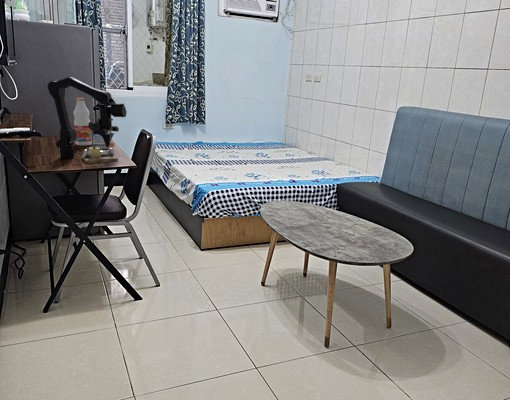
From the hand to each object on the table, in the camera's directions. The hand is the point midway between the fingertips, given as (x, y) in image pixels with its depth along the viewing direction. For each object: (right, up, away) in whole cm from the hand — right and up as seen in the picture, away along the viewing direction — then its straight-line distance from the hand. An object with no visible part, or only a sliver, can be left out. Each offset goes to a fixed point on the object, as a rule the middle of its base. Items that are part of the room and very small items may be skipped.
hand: (107, 146), depth 230 cm
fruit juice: (-29, +7, +42) cm, 52 cm away
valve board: (-5, -6, +3) cm, 9 cm away
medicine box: (-14, +3, +32) cm, 35 cm away
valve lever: (-3, 0, +2) cm, 4 cm away
